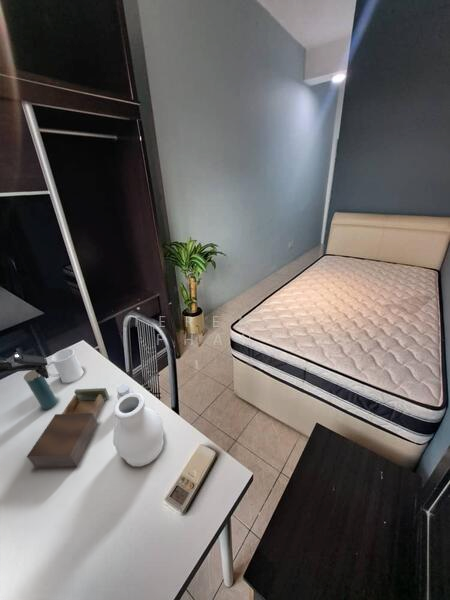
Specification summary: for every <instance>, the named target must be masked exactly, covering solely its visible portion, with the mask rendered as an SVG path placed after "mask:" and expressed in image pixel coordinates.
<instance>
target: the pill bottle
mask: <svg viewBox="0 0 450 600" xmlns="http://www.w3.org/2000/svg"><path fill="white" fill-rule="evenodd" d="M116 392H117V401H118V400H119V399H120V398H121V397H123V396H125V395H126V394H130V393H134V391H133V389H132V388H130V386H129V385H128V384H127V383H125V384H121V385H119V386H118V387H117V389H116Z"/></svg>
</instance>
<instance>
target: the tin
mask: <svg viewBox="0 0 450 600" xmlns="http://www.w3.org/2000/svg"><path fill="white" fill-rule="evenodd" d="M23 380H24V381H25V382H26V384H27V385H28V387H29V389H30V390H31V392H32V394H33V395H34V397H35V399H36V400H37V402H38V403H39V405H40V407H41V408H42V410H44V411H48V410H51V409H53V408H54V407H55V406H56V405H57V403H58V399H57V398H56V396H55V395H54V392H53V390H52V388H51V387H50V385H49V384H48V382H47V379H46V378H45V377H43V376H41V375H40V374H38V373H37V372H36V370H30V371H28V372H26V374H24V376H23Z"/></svg>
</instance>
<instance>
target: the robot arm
mask: <svg viewBox="0 0 450 600" xmlns="http://www.w3.org/2000/svg"><path fill="white" fill-rule="evenodd" d="M48 364H49V362H48V361H47V357H45V356H39V355H32V354H24V353H20V352H18V351H15V352H12V356H10V357H8V358H7V357H5V358H4V357H2V356H0V377H1V376H3V375H6V374H9V375H10V374H14V372H16V373H17V372H27V371H28V372H30V371H32V370H36V372H37V373H38V374H40V375H41V376H43V377H44V378H45V380H47V379H49V378H50V376H49V375H48V373H49V371H48V368H47V369H46V366H47V365H48ZM47 371H48V372H47Z"/></svg>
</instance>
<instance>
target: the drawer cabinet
mask: <svg viewBox="0 0 450 600" xmlns="http://www.w3.org/2000/svg"><path fill="white" fill-rule="evenodd" d="M97 421H98V420H97V418H96V419H95V417H94V415H93V413H77V414H62V413H56V414H54V416H53V417H52V418H51V420H50V421H49V423H48V424H47V426H46V427H45V429H44V430H43V432H42V433H41V435H40V436H39V438H38V439H37V441H36V442H35V444H34V445H33V447H32V448H31V449H30V451H29V452H28V454H27V455H26V458H27V459H28V460H29V461H30V463H31V464H32V465H33V467H34V468H35V469H53V468H54V469H55V468H78V466H79V464H80V463H81V460H82V458H83V456H84V454H85V452H86V451H87V448H88V446H89V445H90V443H91V440H92V438H93V436H94V434H95V432H96V429H97V427H98V425H99V423H98V422H97Z"/></svg>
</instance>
